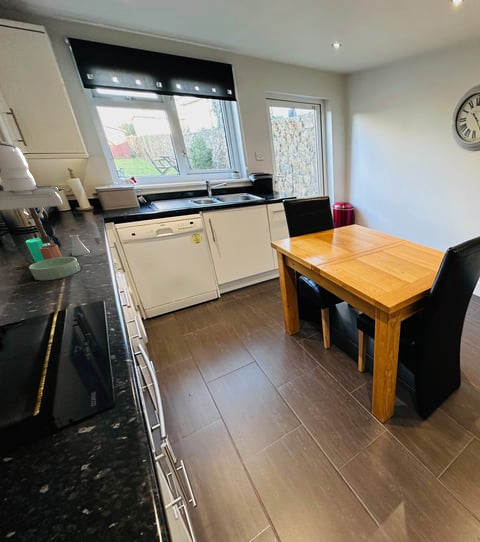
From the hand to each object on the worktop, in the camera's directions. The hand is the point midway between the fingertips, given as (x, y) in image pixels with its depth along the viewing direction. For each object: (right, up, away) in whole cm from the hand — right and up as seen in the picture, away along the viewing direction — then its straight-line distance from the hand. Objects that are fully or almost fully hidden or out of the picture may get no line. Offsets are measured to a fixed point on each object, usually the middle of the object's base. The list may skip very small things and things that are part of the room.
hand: (35, 218), depth 122 cm
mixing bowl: (+11, -25, 0) cm, 27 cm away
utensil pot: (-1, -20, +9) cm, 22 cm away
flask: (-2, -15, +22) cm, 27 cm away
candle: (-11, -18, +13) cm, 25 cm away
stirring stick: (0, -10, +5) cm, 12 cm away
